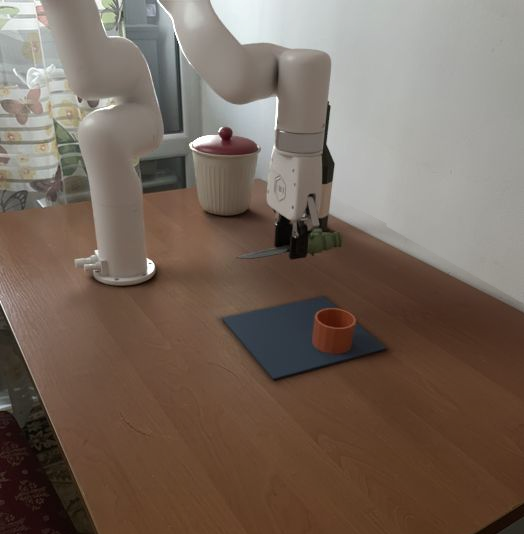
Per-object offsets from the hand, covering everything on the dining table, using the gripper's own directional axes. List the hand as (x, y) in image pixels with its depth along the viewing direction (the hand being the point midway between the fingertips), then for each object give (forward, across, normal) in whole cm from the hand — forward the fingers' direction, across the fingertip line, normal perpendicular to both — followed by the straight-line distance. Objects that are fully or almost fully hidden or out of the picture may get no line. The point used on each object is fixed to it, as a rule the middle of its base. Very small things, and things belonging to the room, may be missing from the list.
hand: (290, 251), depth 94 cm
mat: (+13, +6, 0) cm, 15 cm away
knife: (+1, -1, 0) cm, 2 cm away
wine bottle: (+13, -37, +28) cm, 48 cm away
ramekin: (+13, +11, +3) cm, 17 cm away
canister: (+13, -57, +13) cm, 60 cm away
